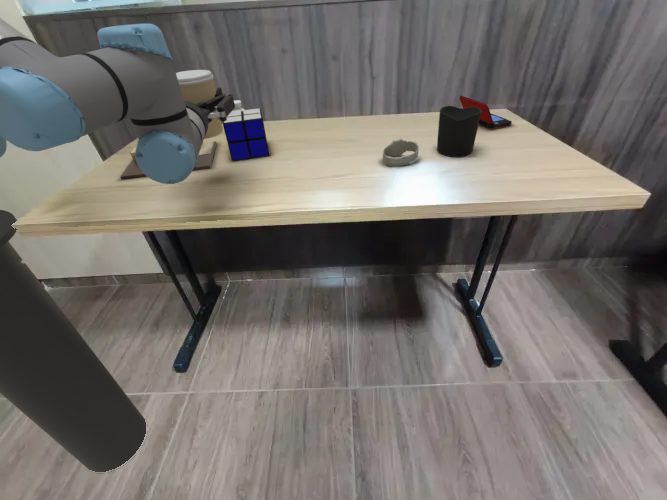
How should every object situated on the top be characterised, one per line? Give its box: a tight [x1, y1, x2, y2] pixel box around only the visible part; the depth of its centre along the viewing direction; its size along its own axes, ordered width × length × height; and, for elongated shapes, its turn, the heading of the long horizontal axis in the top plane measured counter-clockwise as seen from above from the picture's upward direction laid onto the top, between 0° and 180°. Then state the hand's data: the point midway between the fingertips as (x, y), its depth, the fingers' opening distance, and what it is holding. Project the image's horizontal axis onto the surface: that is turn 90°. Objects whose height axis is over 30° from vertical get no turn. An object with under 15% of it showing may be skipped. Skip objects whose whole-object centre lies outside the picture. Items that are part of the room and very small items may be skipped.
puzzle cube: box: [222, 107, 270, 162], centre depth 95 cm, size 10×10×10 cm
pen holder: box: [436, 105, 481, 158], centre depth 87 cm, size 9×9×10 cm
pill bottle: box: [232, 99, 245, 112], centre depth 107 cm, size 5×5×10 cm
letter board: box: [120, 141, 217, 180], centre depth 95 cm, size 22×18×3 cm
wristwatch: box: [382, 138, 420, 167], centre depth 85 cm, size 9×6×5 cm
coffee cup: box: [176, 69, 224, 140], centre depth 74 cm, size 9×9×12 cm
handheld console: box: [459, 95, 513, 130], centre depth 103 cm, size 12×11×7 cm
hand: (199, 96), depth 78 cm, fingers closed on coffee cup, 8 cm apart
